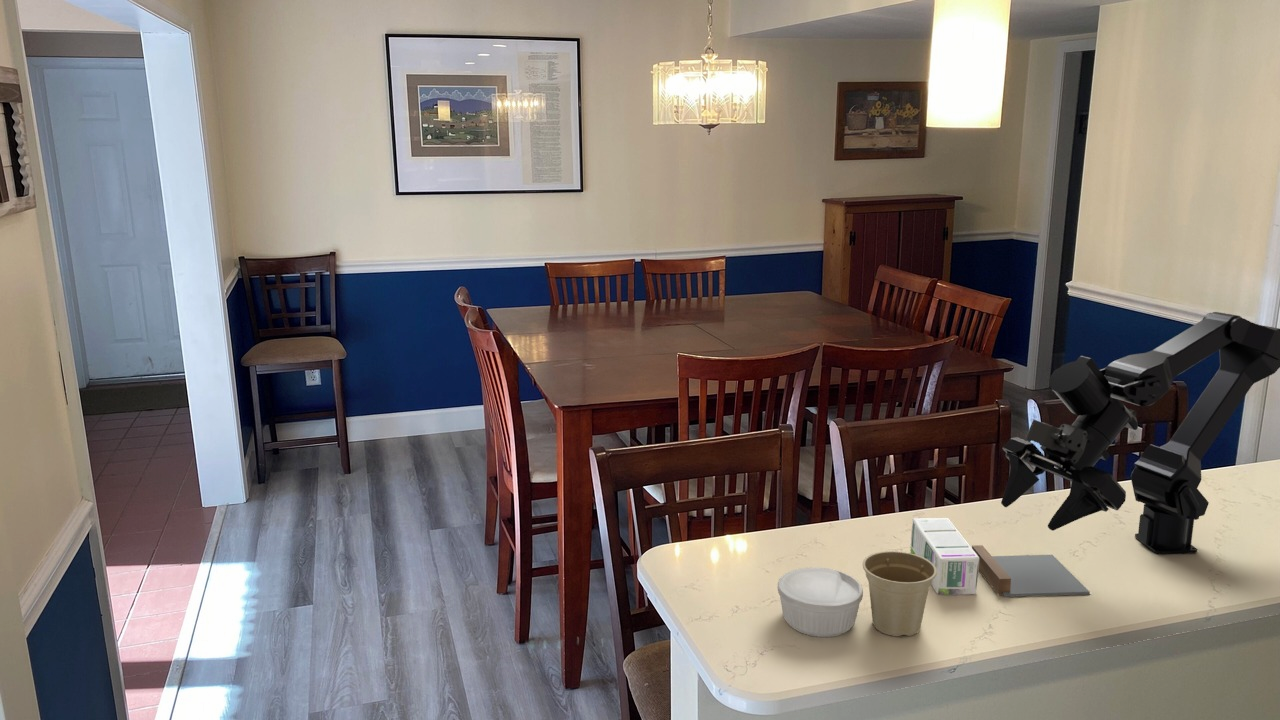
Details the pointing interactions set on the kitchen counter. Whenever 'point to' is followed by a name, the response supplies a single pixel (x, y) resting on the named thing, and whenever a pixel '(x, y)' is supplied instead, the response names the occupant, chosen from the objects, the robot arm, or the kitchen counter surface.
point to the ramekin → (819, 600)
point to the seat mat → (1039, 576)
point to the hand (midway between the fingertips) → (1025, 516)
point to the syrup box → (946, 555)
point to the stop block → (992, 570)
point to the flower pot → (898, 590)
